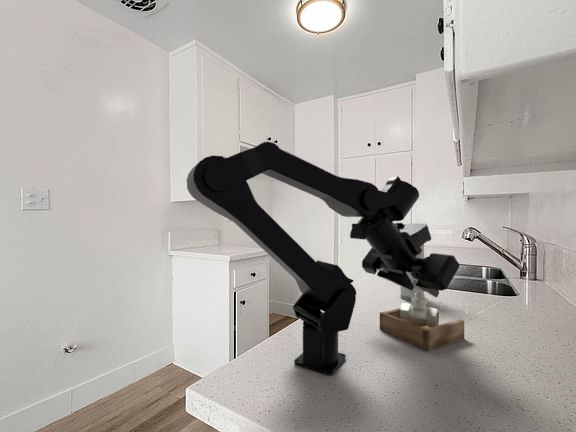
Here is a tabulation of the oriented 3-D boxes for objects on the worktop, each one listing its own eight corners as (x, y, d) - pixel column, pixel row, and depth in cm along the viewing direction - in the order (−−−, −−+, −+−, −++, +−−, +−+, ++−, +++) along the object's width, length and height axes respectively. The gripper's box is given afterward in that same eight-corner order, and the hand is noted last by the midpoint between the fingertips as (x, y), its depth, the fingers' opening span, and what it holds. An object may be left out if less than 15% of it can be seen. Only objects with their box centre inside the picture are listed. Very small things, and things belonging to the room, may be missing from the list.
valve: (434, 335, 52) (434, 270, 53) (397, 326, 56) (397, 266, 57) (440, 324, 58) (440, 265, 58) (406, 317, 62) (406, 262, 62)
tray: (426, 351, 50) (426, 331, 50) (379, 329, 60) (379, 312, 60) (464, 338, 55) (464, 320, 55) (415, 320, 65) (415, 305, 65)
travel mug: (405, 294, 87) (405, 228, 87) (427, 298, 82) (427, 229, 82) (395, 298, 83) (395, 229, 83) (418, 303, 78) (418, 230, 78)
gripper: (453, 207, 47) (490, 269, 52) (372, 210, 64) (406, 256, 69) (421, 257, 44) (464, 318, 48) (343, 246, 60) (381, 293, 65)
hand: (424, 291), depth 58 cm, fingers closed on valve, 5 cm apart
